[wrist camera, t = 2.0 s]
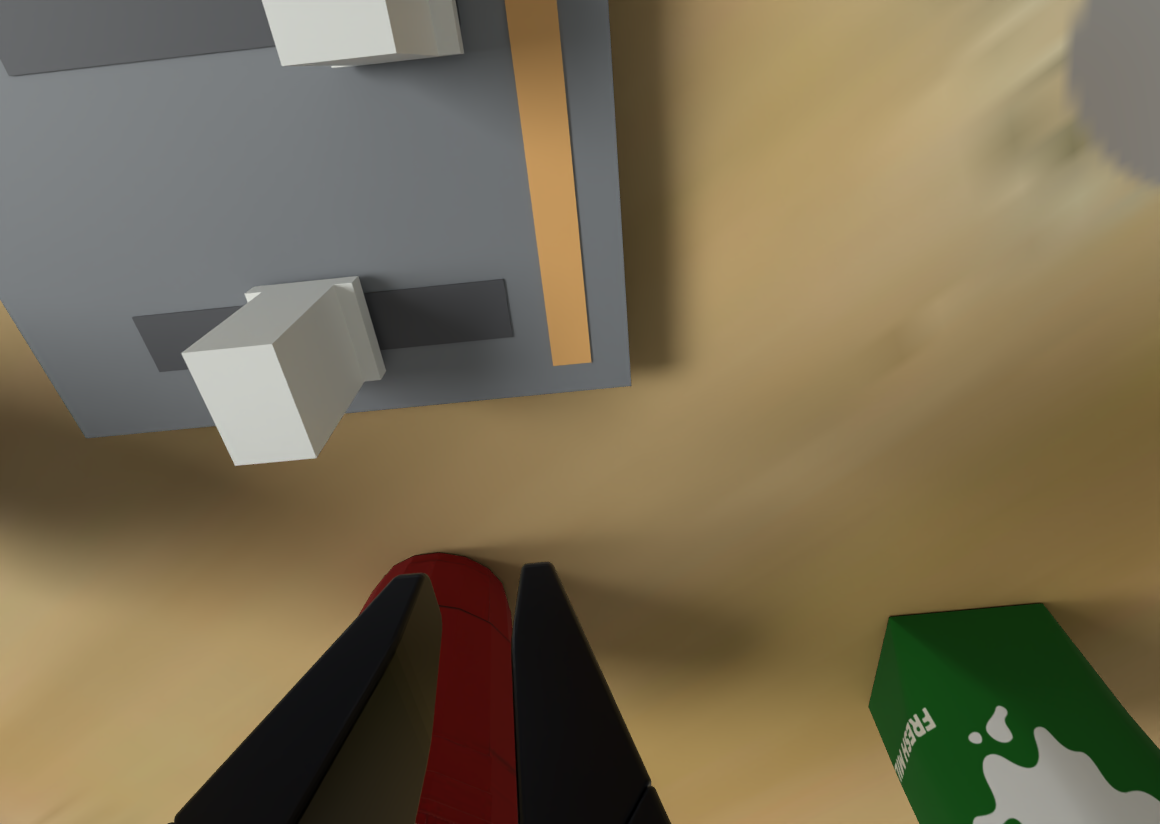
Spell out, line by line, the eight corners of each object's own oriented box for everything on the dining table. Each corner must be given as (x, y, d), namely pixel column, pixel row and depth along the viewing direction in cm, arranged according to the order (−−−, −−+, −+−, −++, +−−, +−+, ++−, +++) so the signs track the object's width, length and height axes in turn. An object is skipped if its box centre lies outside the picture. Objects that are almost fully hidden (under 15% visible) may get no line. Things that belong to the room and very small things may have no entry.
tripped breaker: (290, 380, 18) (215, 467, 14) (253, 286, 17) (158, 355, 13) (386, 370, 18) (336, 456, 14) (358, 275, 17) (294, 341, 13)
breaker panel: (124, 408, 21) (84, 439, 20) (-496, -698, 10) (-721, -859, 8) (625, 359, 21) (631, 386, 19) (548, -860, 10) (544, -1070, 8)
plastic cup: (263, 547, 25) (49, 893, 14) (502, 473, 23) (454, 804, 13) (390, 697, 30) (299, 1030, 20) (592, 646, 28) (609, 979, 18)
